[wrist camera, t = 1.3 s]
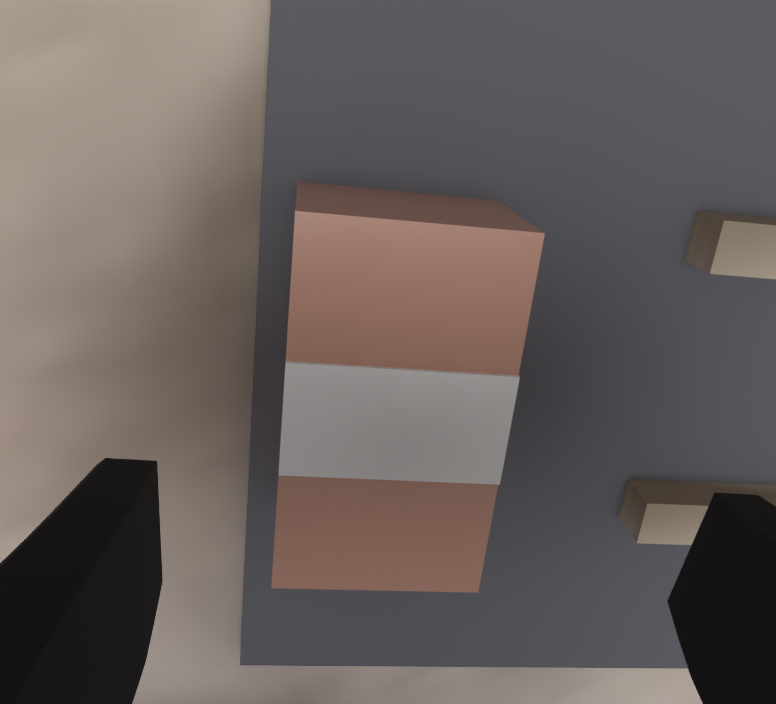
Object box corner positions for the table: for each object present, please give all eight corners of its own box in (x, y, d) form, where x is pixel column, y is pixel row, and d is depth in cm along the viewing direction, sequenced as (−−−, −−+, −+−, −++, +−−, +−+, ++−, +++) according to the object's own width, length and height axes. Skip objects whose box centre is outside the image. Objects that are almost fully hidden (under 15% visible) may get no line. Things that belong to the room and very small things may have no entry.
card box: (449, 504, 19) (479, 596, 16) (277, 497, 19) (271, 591, 15) (498, 200, 16) (546, 234, 13) (297, 181, 16) (294, 211, 13)
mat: (894, 655, 24) (908, 669, 23) (241, 649, 21) (239, 665, 21) (1178, 23, 17) (1207, 21, 17) (277, -109, 14) (276, -117, 14)
